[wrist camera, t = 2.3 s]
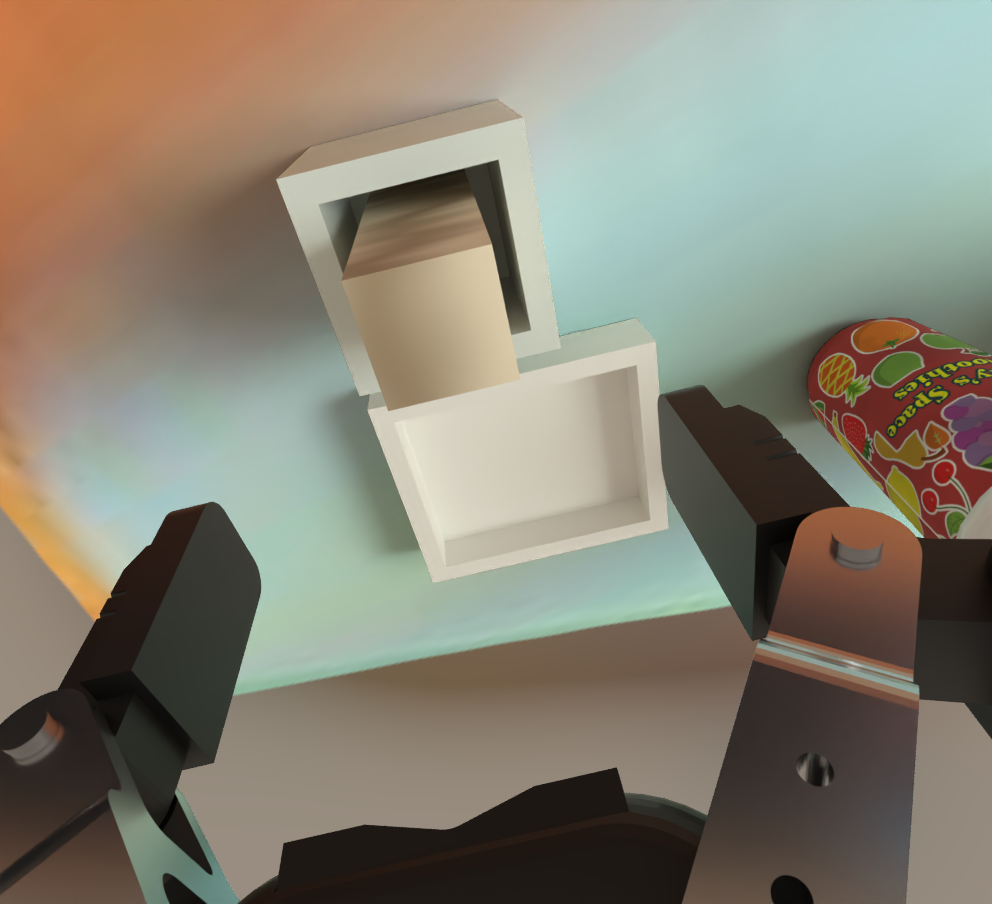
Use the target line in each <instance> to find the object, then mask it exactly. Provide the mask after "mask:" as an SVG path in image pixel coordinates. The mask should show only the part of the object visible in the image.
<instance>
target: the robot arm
mask: <svg viewBox="0 0 992 904" xmlns="http://www.w3.org/2000/svg"><path fill="white" fill-rule="evenodd" d="M657 407H658V422H659V436H660V450H661V464H662V471H663V476H664V480H665V484H666V487H667V490H668V493H669V495H670V497H671V499H672V501H673V503H674V505H675V506H676V508H677V510H678V512H679V513H680V515H681V517H682V519H683V521H684V522H685V524H686V526H687V528H688V529H689V531H690V533H691V535H692V536H693V538H694V540H695V542H696V543H697V545H698V547H699V549H700V550H701V552H702V554H703V556H704V557H705V559H706V561H707V563H708V564H709V566H710V568H711V570H712V571H713V573H714V575H715V577H716V579H717V580H718V582H719V584H720V586H721V587H722V589H723V591H724V593H725V594H726V596H727V598H728V600H729V601H730V603H731V605H732V607H733V608H734V610H735V612H736V614H737V615H738V617H739V619H740V621H741V622H742V624H743V626H744V628H745V629H746V631H747V633H748V635H749V636H750V638H751V640H752V641H754V640H757V639H761V640H760V641H759V643H758V645H757V648H756V651H755V653H754V657H753V660H752V663H751V667H750V670H749V674H748V677H747V681H746V684H745V688H744V691H743V695H742V698H741V702H740V705H739V708H738V712H737V715H736V719H735V722H734V726H733V729H732V732H731V736H730V740H729V743H728V746H727V750H726V753H725V757H724V760H723V764H722V767H721V770H720V774H719V777H718V781H717V784H716V788H715V791H714V795H713V798H712V802H711V805H710V808H709V812H708V815H705V814H703V813H701V812H699V811H697V810H694V809H692V808H690V807H688V806H686V805H683V804H680V803H677V802H674V801H670V800H668V799H665V798H660V797H654V796H649V795H644V794H634V793H624V791H623V788H622V784H621V780H620V777H619V773H618V770H617V768H612V769H608V770H603V771H599V772H595V773H590V774H586V775H582V776H577V777H573V778H568V779H564V780H560V781H556V782H551V783H546V784H542V785H537V786H534V787H532V788H530V789H528V790H526V791H524V792H522V793H520V794H519V795H517V796H515V797H513V798H511V799H509V800H507V801H505V802H503V803H501V804H499V805H498V806H496V807H494V808H492V809H490V810H488V811H486V812H484V813H482V814H481V815H479V816H477V817H475V818H473V819H471V820H469V821H467V822H465V823H463V824H462V825H460V826H457V827H455V828H452V829H447V830H438V829H421V828H407V827H391V826H390V827H389V826H376V825H362V826H357V827H353V828H348V829H344V830H340V831H335V832H331V833H326V834H322V835H317V836H314V837H309V838H305V839H300V840H296V841H291V842H287V843H284V844H283V850H282V857H281V863H280V869H279V875H277V876H276V877H274V878H272V879H270V880H269V881H267V882H266V883H264V884H263V885H262V886H260V887H258V888H257V889H255V890H254V891H252V892H251V893H250V894H249V895H247V896H246V897H245V898H244V899H243V900H241V901H240V900H239V899H238V897H237V896H236V894H235V893H234V891H233V890H232V888H231V887H230V885H229V883H228V881H227V880H226V877H225V875H224V873H223V872H222V869H221V867H220V865H219V863H218V861H217V860H216V857H215V855H214V853H213V852H212V850H211V847H210V845H209V843H208V841H207V839H206V838H205V836H204V834H203V832H202V829H201V827H200V826H199V824H198V822H197V820H196V818H195V816H194V814H193V812H192V810H191V808H190V806H189V804H188V802H187V800H186V798H185V796H184V795H183V793H181V792H180V791H179V789H178V788H177V784H178V781H179V778H180V775H181V772H182V770H185V769H190V768H194V767H198V766H203V765H207V764H211V763H214V760H215V756H216V753H217V749H218V746H219V742H220V738H221V735H222V731H223V728H224V724H225V720H226V717H227V713H228V709H229V706H230V703H231V699H232V695H233V692H234V688H235V685H236V681H237V677H238V674H239V670H240V667H241V663H242V659H243V656H244V652H245V649H246V645H247V641H248V638H249V634H250V631H251V627H252V623H253V620H254V616H255V613H256V609H257V605H258V602H259V598H260V594H261V579H260V574H259V570H258V567H257V565H256V562H255V560H254V559H253V557H252V555H251V554H250V552H249V550H248V549H247V547H246V546H245V544H244V542H243V541H242V539H241V537H240V536H239V534H238V532H237V531H236V529H235V527H234V526H233V524H232V522H231V521H230V519H229V517H228V516H227V514H226V512H225V511H224V509H223V508H222V507H221V506H220V505H219V504H217V503H215V502H209V503H205V504H201V505H197V506H193V507H189V508H185V509H180V510H176V511H172V512H170V513H169V514H168V515H167V516H166V517H165V519H164V521H163V523H162V525H161V527H160V528H159V530H158V532H157V534H156V536H155V538H154V540H153V542H152V544H151V545H149V546H146V547H145V548H144V549H143V550H142V551H141V553H140V554H139V555H138V556H137V557H136V558H135V559H134V560H133V561H132V562H131V563H130V564H129V565H128V566H127V567H126V568H125V569H124V570H123V572H122V574H121V576H120V578H119V579H118V581H117V583H116V585H115V587H114V589H113V590H112V592H111V598H108V599H107V601H106V603H105V605H104V607H103V608H102V610H101V612H100V618H99V619H96V621H95V623H94V625H93V627H92V629H91V630H90V632H89V634H88V636H87V638H86V639H85V641H84V643H83V645H82V647H81V648H80V650H79V652H78V654H77V656H76V657H75V659H74V661H73V663H72V665H71V667H70V668H69V670H68V672H67V674H66V676H65V677H64V679H63V681H62V683H61V685H60V687H59V688H58V690H56V691H52V692H49V693H47V694H44V695H41V696H39V697H38V698H35V699H34V700H32V701H30V702H28V703H27V704H25V705H24V706H22V707H21V708H20V709H18V710H17V711H15V712H14V713H13V714H11V715H10V716H9V717H8V718H7V719H5V720H4V722H2V723H1V724H0V904H906V897H907V896H906V895H907V881H908V865H909V849H910V836H911V821H912V805H913V790H914V775H915V760H916V744H917V730H918V714H919V699H922V700H936V701H948V702H962V703H965V704H966V706H967V707H968V708H969V710H970V711H971V712H972V714H973V715H974V716H975V718H976V719H977V720H978V722H979V723H980V724H981V725H982V727H983V728H984V729H985V730H986V732H987V733H988V735H989V736H990V737H991V739H992V539H933V538H919V537H916V536H915V535H914V534H913V533H912V532H911V531H910V529H908V528H907V527H906V526H905V525H903V524H902V523H901V522H899V521H897V520H895V519H894V518H892V517H889V516H887V515H885V514H882V513H879V512H876V511H873V510H869V509H864V508H857V507H850V506H849V505H848V504H847V503H846V502H845V501H844V500H843V499H842V498H841V496H840V495H839V494H838V493H837V492H836V491H835V490H834V489H833V488H832V487H831V486H830V485H829V484H828V483H827V482H826V481H825V480H824V479H823V477H822V476H821V475H820V474H819V473H818V472H817V471H816V470H815V469H814V468H813V467H812V466H811V465H810V464H809V463H808V462H807V461H806V460H805V458H804V457H803V456H802V455H801V454H800V453H799V454H797V452H796V449H795V448H794V447H793V446H792V445H791V444H790V443H789V442H788V441H787V439H786V438H785V439H783V437H782V434H781V433H780V432H779V431H778V430H777V429H776V428H775V427H774V426H773V425H772V424H771V423H770V422H769V420H768V419H767V418H766V417H764V416H762V415H760V414H757V413H755V412H753V411H751V410H749V409H747V408H745V407H743V406H740V405H737V406H733V407H728V408H723V407H722V406H721V405H720V403H719V402H718V401H717V400H716V399H715V398H714V396H713V395H712V394H711V393H710V392H709V391H708V389H707V388H706V387H705V386H703V385H699V386H694V387H690V388H686V389H682V390H678V391H674V392H670V393H665V394H661V395H659V397H658V403H657ZM762 638H766V640H763V639H762Z"/></svg>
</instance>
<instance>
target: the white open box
mask: <svg viewBox="0 0 992 904" xmlns="http://www.w3.org/2000/svg"><path fill="white" fill-rule="evenodd" d="M463 168H464V170H465V173H466V175H467V178H468V181H469V183H470V186H471V189H472V191H473V194H474V197H475V200H476V202H477V205H478V208H479V210H480V213H481V216H482V218H483V221H484V224H485V227H486V229H487V232H488V235H489V237H490V240H491V243H492V246H493V251H494V256H495V261H496V265H497V270H498V275H499V280H500V284H501V289H502V294H503V299H504V303H505V308H506V313H507V318H508V322H509V327H510V332H511V337H512V341H513V346H514V351H515V356H516V359H518V358H522V357H526V356H530V355H534V354H539V353H543V352H547V351H551V350H555V349H559V348H561V345H560V339H559V332H558V326H557V320H556V314H555V308H554V302H553V296H552V290H551V283H550V277H549V271H548V265H547V259H546V253H545V247H544V241H543V234H542V228H541V222H540V216H539V210H538V204H537V198H536V192H535V185H534V179H533V173H532V167H531V161H530V155H529V149H528V143H527V136H526V130H525V124H524V118H523V117H522V116H521V115H519V114H518V113H516V112H515V111H513V110H512V109H511V108H509V107H508V106H506V105H505V104H503V103H502V102H500V101H499V100H498V99H497V100H493V101H489V102H485V103H482V104H478V105H474V106H470V107H466V108H462V109H458V110H454V111H450V112H446V113H442V114H438V115H434V116H430V117H426V118H422V119H418V120H414V121H410V122H406V123H402V124H398V125H394V126H390V127H386V128H382V129H378V130H374V131H370V132H367V133H363V134H359V135H355V136H351V137H347V138H343V139H339V140H335V141H331V142H327V143H323V144H319V145H315V146H311V147H310V148H308V149H307V150H306V151H305V152H304V153H303V154H302V155H301V156H300V157H299V158H298V159H297V160H296V161H295V162H294V163H293V164H292V165H291V166H290V167H289V168H288V169H286V170H285V171H284V172H283V173H282V174H281V175H280V176H279V177H278V178H277V179H276V181H277V183H278V186H279V189H280V191H281V194H282V196H283V199H284V202H285V204H286V207H287V209H288V212H289V215H290V217H291V220H292V222H293V225H294V227H295V230H296V233H297V235H298V238H299V240H300V243H301V246H302V248H303V251H304V253H305V256H306V259H307V261H308V264H309V266H310V269H311V272H312V274H313V277H314V279H315V282H316V285H317V287H318V290H319V292H320V295H321V298H322V300H323V303H324V305H325V308H326V311H327V313H328V316H329V318H330V321H331V323H332V326H333V329H334V331H335V334H336V336H337V339H338V342H339V344H340V347H341V349H342V352H343V355H344V357H345V360H346V362H347V365H348V368H349V370H350V373H351V375H352V378H353V381H354V383H355V386H356V388H357V391H358V394H359V396H363V395H368V394H372V393H376V392H380V391H381V390H380V387H379V384H378V381H377V379H376V376H375V373H374V370H373V368H372V365H371V362H370V359H369V356H368V354H367V351H366V348H365V345H364V343H363V340H362V337H361V334H360V331H359V329H358V326H357V323H356V320H355V318H354V315H353V312H352V309H351V307H350V304H349V301H348V298H347V295H346V293H345V290H344V287H343V284H342V282H341V280H342V277H343V274H344V271H345V268H346V265H347V262H348V259H349V256H350V252H351V249H352V246H353V243H354V240H355V237H356V234H357V231H358V228H359V225H360V222H361V218H362V215H363V212H364V209H365V206H366V203H367V200H368V197H369V194H370V191H374V190H378V189H382V188H386V187H390V186H394V185H398V184H402V183H406V182H410V181H415V180H419V179H423V178H427V177H431V176H435V175H439V174H443V173H447V172H451V171H455V170H459V169H463Z"/></svg>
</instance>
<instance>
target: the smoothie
mask: <svg viewBox="0 0 992 904" xmlns="http://www.w3.org/2000/svg"><path fill="white" fill-rule="evenodd" d="M807 388H808V391H809V403H810V406H811V409H812V412H813V415H814V416H815V417H816V418H817V419H818V420H819V421H820V423H821V424H822V425H823V426H824V427H825V428H826V429H827V430H828V431H829V432H830V434H831V435H832V436H833V437H834V438H835V439H836V440H837V441H838V442H839V443H840V445H841V446H842V447H843V448H844V449H845V450H846V451H847V452H848V453H849V455H850V456H851V457H852V458H853V459H854V460H855V461H856V462H857V463H858V465H859V466H860V467H861V468H862V469H863V470H864V471H865V472H866V473H867V474H868V476H869V477H870V478H871V479H872V480H873V481H874V482H875V483H876V484H877V486H878V487H879V488H880V489H881V490H882V491H883V492H884V493H885V494H886V496H887V497H888V498H889V499H890V500H891V501H892V502H893V503H894V504H895V505H896V507H897V508H898V509H899V510H900V511H901V512H902V513H903V514H904V515H905V517H906V518H907V519H908V520H909V521H910V522H911V523H912V524H913V525H914V526H915V528H916V529H917V530H918V531H919V532H920V533H921V534H922V535H923V536H924V538H933V539H992V355H990V354H988V353H985V352H983V351H981V350H978V349H976V348H974V347H972V346H969V345H967V344H965V343H962V342H960V341H958V340H956V339H953V338H951V337H949V336H946V335H944V334H942V333H940V332H937V331H935V330H933V329H931V328H928V327H926V326H924V325H921V324H919V323H917V322H915V321H912V320H910V319H904V318H891V317H890V318H886V319H882V320H877V319H871V320H867V321H862V322H858V323H855V324H853V325H851V326H849V327H847V328H845V329H843V330H841V331H839V332H838V333H837V334H836V335H835V336H833V337H832V338H831V339H830V340H829V341H828V342H826V343H825V344H824V346H823V347H822V348H821V350H820V351H819V352H818V354H817V355H816V356H815V358H814V360H813V362H812V365H811V367H810V370H809V372H808V382H807Z"/></svg>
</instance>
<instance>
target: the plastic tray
mask: <svg viewBox="0 0 992 904" xmlns="http://www.w3.org/2000/svg"><path fill="white" fill-rule="evenodd" d="M559 339H560V345H561V348H559V349H555V350H551V351H547V352H543V353H539V354H534V355H530V356H526V357H522V358H518V359H516V360H517V365H518V370H519V375H520V379H521V380H517V381H513V382H509V383H504V384H500V385H496V386H492V387H488V388H483V389H479V390H475V391H471V392H467V393H462V394H458V395H454V396H450V397H446V398H442V399H437V400H433V401H429V402H425V403H421V404H416V405H412V406H408V407H404V408H400V409H395V410H391V411H388V409H387V406H386V404H385V401H384V398H383V395H382V392H381V391H380V392H376V393H372V394H370V395H369V403H368V413H369V416H370V418H371V421H372V423H373V426H374V429H375V431H376V434H377V437H378V439H379V442H380V444H381V447H382V450H383V452H384V455H385V457H386V460H387V463H388V465H389V468H390V471H391V473H392V476H393V478H394V481H395V484H396V486H397V489H398V491H399V494H400V497H401V499H402V502H403V504H404V507H405V510H406V512H407V515H408V518H409V520H410V523H411V525H412V528H413V531H414V533H415V536H416V538H417V541H418V544H419V546H420V549H421V552H422V554H423V557H424V559H425V562H426V565H427V567H428V570H429V572H430V575H431V578H432V580H433V583H436V582H440V581H445V580H449V579H453V578H458V577H462V576H466V575H471V574H475V573H479V572H484V571H488V570H492V569H497V568H501V567H505V566H510V565H514V564H519V563H523V562H527V561H532V560H536V559H540V558H545V557H549V556H553V555H558V554H562V553H566V552H571V551H575V550H579V549H584V548H588V547H592V546H597V545H601V544H605V543H610V542H614V541H618V540H623V539H627V538H632V537H636V536H640V535H645V534H649V533H653V532H658V531H662V530H666V529H668V514H667V499H666V484H665V480H664V476H663V471H662V464H661V450H660V436H659V422H658V407H657V403H658V397H659V380H658V365H657V350H656V341H655V340H654V338H653V337H652V336H651V335H650V333H649V332H648V331H647V330H646V328H645V327H644V326H643V325H642V323H641V322H640V321H639V320H638V318H634V319H630V320H626V321H622V322H617V323H613V324H609V325H605V326H601V327H597V328H593V329H588V330H584V331H580V332H576V333H572V334H568V335H563V336H559Z"/></svg>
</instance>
